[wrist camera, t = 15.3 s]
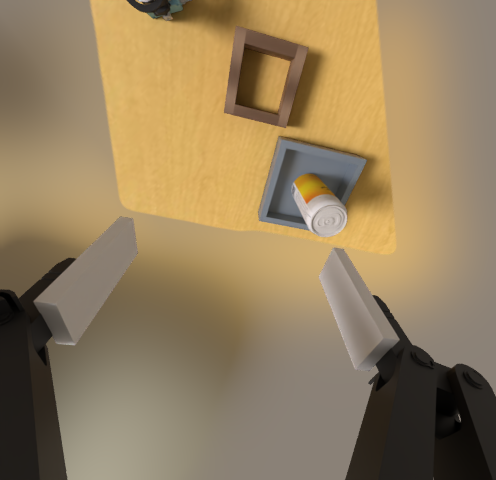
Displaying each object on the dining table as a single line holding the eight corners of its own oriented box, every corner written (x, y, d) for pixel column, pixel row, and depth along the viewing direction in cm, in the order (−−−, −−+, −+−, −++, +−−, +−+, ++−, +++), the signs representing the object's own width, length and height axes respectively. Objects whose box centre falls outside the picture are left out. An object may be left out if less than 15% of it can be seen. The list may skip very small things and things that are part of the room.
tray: (278, 135, 41) (281, 139, 37) (357, 155, 43) (367, 160, 39) (258, 212, 49) (259, 220, 46) (324, 225, 51) (330, 234, 48)
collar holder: (236, 32, 33) (235, 25, 30) (303, 51, 34) (308, 47, 31) (225, 111, 38) (223, 112, 35) (282, 125, 40) (285, 128, 37)
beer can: (319, 199, 46) (347, 237, 34) (290, 202, 47) (307, 241, 34) (321, 170, 43) (352, 200, 31) (290, 174, 43) (308, 205, 31)
